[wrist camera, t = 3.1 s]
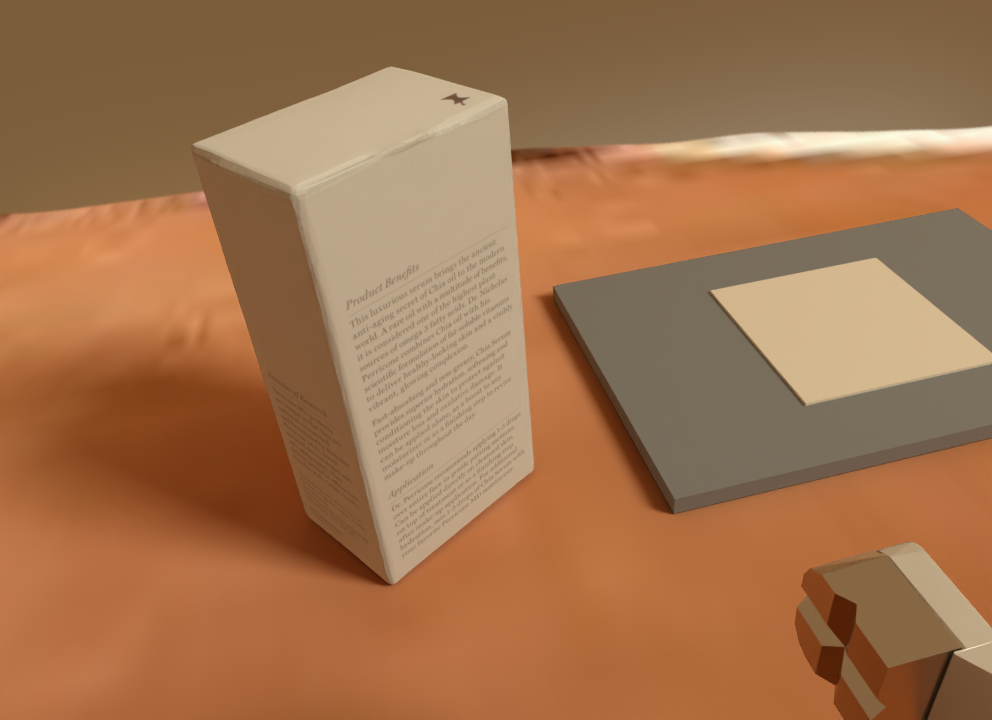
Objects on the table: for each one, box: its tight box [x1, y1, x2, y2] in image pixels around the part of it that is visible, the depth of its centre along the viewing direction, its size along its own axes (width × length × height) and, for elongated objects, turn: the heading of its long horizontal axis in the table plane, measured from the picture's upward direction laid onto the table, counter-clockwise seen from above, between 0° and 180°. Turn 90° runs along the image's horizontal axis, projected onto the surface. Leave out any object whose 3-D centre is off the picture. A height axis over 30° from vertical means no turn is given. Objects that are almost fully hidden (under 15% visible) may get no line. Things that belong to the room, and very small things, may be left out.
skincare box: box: [192, 67, 534, 585], centre depth 23 cm, size 6×4×12 cm
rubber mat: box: [553, 208, 992, 514], centre depth 31 cm, size 18×12×1 cm, turn 104°
